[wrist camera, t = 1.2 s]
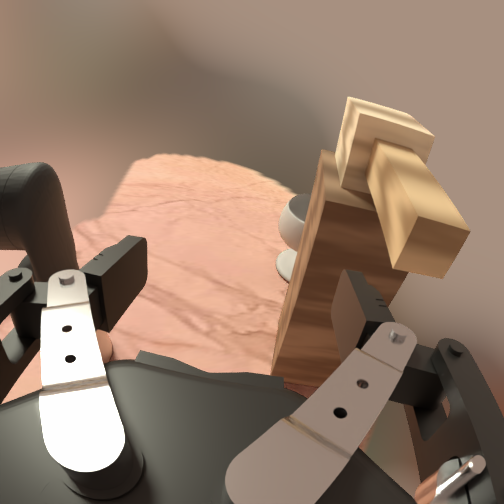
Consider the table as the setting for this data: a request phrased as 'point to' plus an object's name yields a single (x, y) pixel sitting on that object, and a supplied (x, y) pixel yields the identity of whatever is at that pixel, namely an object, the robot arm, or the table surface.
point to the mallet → (400, 186)
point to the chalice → (291, 232)
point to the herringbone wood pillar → (329, 275)
